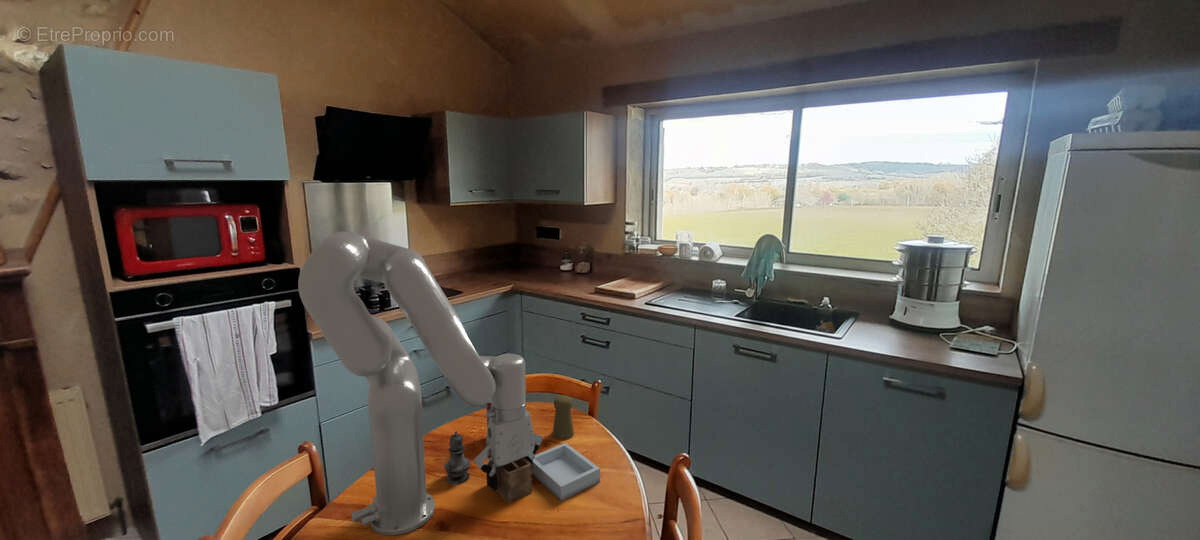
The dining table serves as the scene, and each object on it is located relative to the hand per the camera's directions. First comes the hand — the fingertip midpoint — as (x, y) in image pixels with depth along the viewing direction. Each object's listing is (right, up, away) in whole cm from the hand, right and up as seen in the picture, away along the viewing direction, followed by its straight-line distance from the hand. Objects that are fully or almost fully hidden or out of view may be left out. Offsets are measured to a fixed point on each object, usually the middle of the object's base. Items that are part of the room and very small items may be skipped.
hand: (510, 480), depth 108 cm
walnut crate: (0, -2, 0) cm, 2 cm away
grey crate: (+12, -1, +5) cm, 13 cm away
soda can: (-6, +2, +21) cm, 22 cm away
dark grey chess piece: (-13, -1, +4) cm, 14 cm away
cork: (+10, +2, +24) cm, 26 cm away
